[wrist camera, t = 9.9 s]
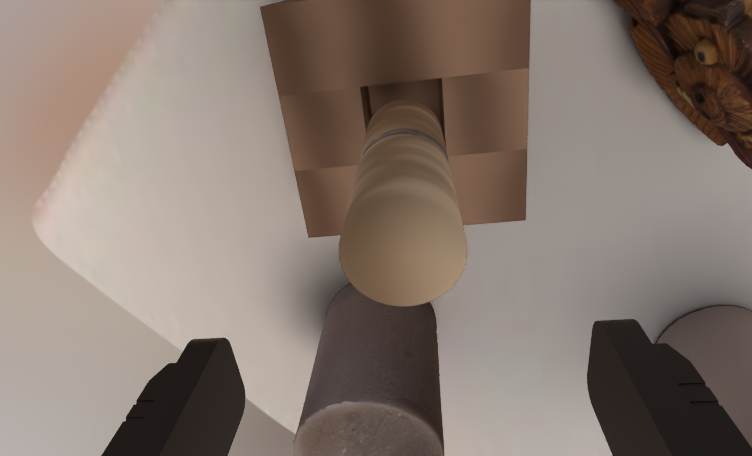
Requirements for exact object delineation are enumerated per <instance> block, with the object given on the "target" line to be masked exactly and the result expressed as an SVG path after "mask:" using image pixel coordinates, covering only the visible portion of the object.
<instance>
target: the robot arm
mask: <svg viewBox="0 0 752 456" xmlns="http://www.w3.org/2000/svg"><path fill="white" fill-rule="evenodd" d="M587 384H588V392H589V397H590V400H591V404H592V406H593V409H594V411H595V414H596V416H597V419H598V421H599V423H600V426H601V428H602V431H603V433H604V435H605V438H606V440H607V443H608V445H609V447H610V450H611V452H612V455H613V456H752V311H750V310H747V309H744V308H741V307H734V306H715V307H710V308H705V309H701V310H698V311H696V312H693V313H690V314H688V315H686V316H684V317H683V318H681V319H679V320H678V321H676V322H675V323H674V324H672V325H671V326H670V327H669V328H668V329H667V330H666V331H665V332H664V333H663V334H662V335H661V337H660V338H659V340H658V342H657V343H656V344H652V343H651V342H650V340H649V338H648V337H647V335H646V334H645V332H644V331H643V329H642V327H641V326H640V324H639V323H638V322H637V321H636V320H634V319H624V320H604V321H595V322H594V325H593V329H592V337H591V346H590V355H589V364H588V372H587ZM244 407H245V389H244V385H243V381H242V378H241V375H240V372H239V369H238V366H237V363H236V360H235V357H234V354H233V351H232V348H231V345H230V342H229V341H228V340H227V339H226V338H210V339H193V340H191V341H190V342H189V343H188V344H187V346H186V348H185V349H184V351H183V353H182V354H181V356H180V358H179V359H178V361H177V363H170V364H167V365H166V366H165V367H164V368H163V369H162V370H161V371H160V372H158V373H157V374H156V375H155V376H154V377H153V378H152V379H151V380H149V382H148V383H147V385H146V386H145V388H144V390H143V392H142V393H141V394H140V396H139V398H138V399H137V403H136V405H133V407H132V409H131V410H130V412H129V413H128V415H127V416H126V421H125V422H123V423H122V424H121V426H120V428H119V429H118V431H117V432H116V434H115V435H114V437H113V438H112V440H111V442H110V443H109V445H108V446H107V448H106V449H105V451H104V453H103V454H102V456H227V455H228V453H229V450H230V447H231V445H232V442H233V439H234V437H235V434H236V432H237V429H238V426H239V424H240V421H241V418H242V415H243V412H244Z"/></svg>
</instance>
